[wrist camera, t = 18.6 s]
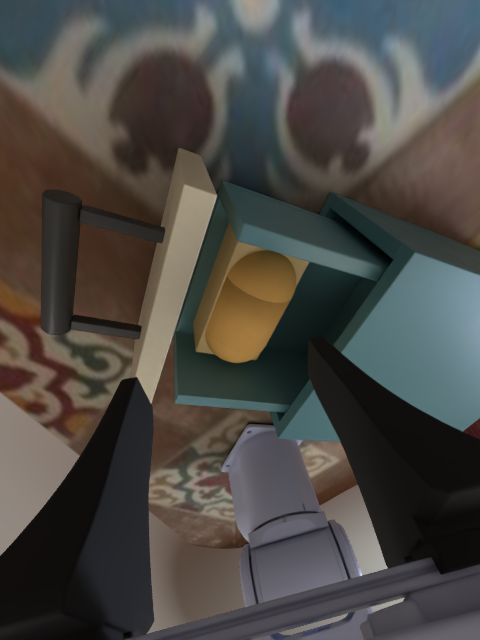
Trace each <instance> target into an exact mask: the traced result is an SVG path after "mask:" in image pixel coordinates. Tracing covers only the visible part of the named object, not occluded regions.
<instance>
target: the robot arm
mask: <svg viewBox="0 0 480 640" xmlns="http://www.w3.org/2000/svg"><path fill="white" fill-rule="evenodd" d="M308 374H309V377H310V380H311V382H312V385H313V388H314V390H315V393H316V395H317V397H318V399H319V401H320V403H321V405H322V407H323V409H324V411H325V413H326V414H327V416H328V418H329V420H330V422H331V424H332V426H333V428H334V430H335V432H336V434H337V436H338V438H339V440H340V442H341V444H342V446H343V448H344V450H345V453H346V455H347V458H348V460H349V463H350V465H351V468H352V470H353V473H354V475H355V478H356V481H357V483H358V486H359V488H360V491H361V494H362V496H363V499H364V502H365V505H366V507H367V510H368V513H369V516H370V518H371V521H372V524H373V527H374V530H375V533H376V536H377V539H378V541H379V544H380V547H381V550H382V553H383V557H384V560H385V563H386V565H387V567H388V569H385V570H381V571H378V572H374V573H370V574H367V575H363V576H362V573H361V570H360V567H359V565H358V562H357V559H356V556H355V554H354V551H353V549H352V546H351V544H350V541H349V539H348V537H347V534H346V533H345V530H344V529H343V527H342V526H341V525H340V524H338V523H336V521H335V520H330V521H327V519H326V516H325V513H324V512H323V511H322V512H321V509H320V506H319V503H318V500H317V497H316V494H315V492H314V489H313V486H312V483H311V480H310V477H309V475H308V472H307V469H306V466H305V463H304V460H303V457H302V455H301V452H300V449H299V445H300V444H301V442H302V441H303V440H291V439H278V437H277V434H276V431H275V427H274V425H261V424H249V425H247V426H246V428H245V429H244V431H243V433H242V434H241V436H240V437H239V439H238V441H237V442H236V444H235V446H234V447H233V449H232V450H231V452H230V454H229V455H228V457H227V459H226V460H225V462H224V463H223V465H222V467H221V471H222V472H229V478H230V485H231V492H232V498H233V505H234V512H235V518H236V523H237V526H238V528H239V531H240V532H241V534H242V535H243V537H244V538H245V539H246V540H247V541H248V542H249V544H247V545H244V547H243V550H242V552H241V554H240V558H239V568H240V579H241V586H242V592H243V598H244V603H245V607H244V608H241V609H237V610H234V611H230V612H226V613H222V614H219V615H215V616H211V617H208V618H204V619H200V620H196V621H193V622H189V623H186V624H182V625H178V626H174V627H171V628H167V629H163V630H160V631H156V632H152V633H149V634H146V633H147V632H148V631H149V629H150V628H151V626H152V624H153V622H154V612H153V599H152V586H151V568H150V548H149V507H148V494H149V478H150V466H151V454H152V442H153V410H152V405H151V403H150V401H149V399H148V397H147V395H146V393H145V391H144V389H143V387H142V385H141V383H140V381H139V380H138V378H137V377H133V378H129V379H124V380H122V381H121V382H120V384H119V386H118V388H117V390H116V392H115V394H114V396H113V398H112V400H111V402H110V404H109V406H108V408H107V410H106V412H105V414H104V416H103V418H102V419H101V421H100V423H99V425H98V427H97V429H96V430H95V432H94V434H93V436H92V437H91V439H90V441H89V442H88V444H87V446H86V447H85V449H84V451H83V452H82V454H81V455H80V457H79V459H78V460H77V462H76V463H75V465H74V466H73V468H72V469H71V471H70V472H69V473H68V475H67V476H66V478H65V479H64V481H63V482H62V483H61V485H60V486H59V487H58V488H57V490H56V491H55V492H54V494H53V495H52V496H51V498H50V499H49V500H48V502H47V503H46V504H45V505H44V507H43V508H42V509H41V510H40V512H39V513H38V514H37V515H36V516H35V518H34V519H33V520H32V521H31V522H30V523H29V525H28V526H27V527H26V528H25V529H24V530H23V532H22V533H21V534H20V535H19V536H18V537H17V539H16V540H15V541H14V542H13V543H12V544H11V545H10V546H9V547H8V548H7V549H6V551H5V552H4V553H3V554H2V555H1V556H0V640H253V639H254V640H480V439H478V438H476V437H473V436H471V435H469V434H467V433H465V432H462V431H460V430H458V429H456V428H454V427H452V426H450V425H448V424H446V423H444V422H442V421H440V420H438V419H436V418H434V417H433V416H431V415H429V414H427V413H425V412H423V411H421V410H420V409H418V408H416V407H415V406H413V405H411V404H410V403H408V402H406V401H405V400H403V399H401V398H400V397H398V396H397V395H395V394H394V393H392V392H391V391H389V390H388V389H386V388H385V387H384V386H382V385H381V384H379V383H378V382H377V381H375V380H374V379H373V378H371V377H370V376H369V375H367V374H366V373H365V372H364V371H362V370H361V369H360V368H359V367H357V366H356V365H355V364H354V363H352V362H351V361H350V360H349V359H348V358H347V357H345V356H344V355H343V354H342V353H341V352H340V351H339V350H338V349H336V348H335V347H334V346H333V345H332V344H331V343H330V342H329V341H328V340H327V339H326V338H324V337H323V336H321V337H316V338H312V339H308ZM404 597H405V599H404V601H403V602H401V603H398V604H395V605H392V606H389V607H387V608H384V609H381V610H379V611H376V612H373V610H372V608H371V607H372V606H376V605H379V604H383V603H386V602H390V601H393V600H397V599H400V598H404ZM347 613H348V615H347V616H346V617H345V618H344V619H342V620H340V621H338V622H335V623H331V624H327V625H324V626H321V627H317V628H314V629H310V630H307V631H303V632H300V633H297V634H293V635H282V634H280V633H278V632H282V631H286V630H289V629H293V628H296V627H300V626H304V625H307V624H311V623H314V622H318V621H322V620H325V619H329V618H332V617H336V616H340V615H343V614H347Z"/></svg>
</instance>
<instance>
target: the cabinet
mask: <svg viewBox="0 0 480 640" xmlns="http://www.w3.org/2000/svg"><path fill="white" fill-rule="evenodd" d="M319 215H321V216H324V217H327V218H330V219H332V220H335V221H338V222H341V223H344V224H346V225H349V226H352V227H354V228H355V229H357V230H358V231H359V232H360V233H361V234H363V235H364V236H365V237H366V238H368V239H369V240H370V241H371V242H372V243H374V244H375V245H376V246H377V247H378V248H380V249H381V250H382V251H383V252H385V253H386V254H387V255H388V256H389V257H391V258H392V259H393V261H392V263H391V264H390V265H389V267H388V268H387V270H386V271H385V272H384V274H383V275H382V277H381V278H380V280H379V281H378V282H377V284H376V285H375V287H374V288H373V290H372V291H371V292H370V294H369V295H368V297H367V298H366V300H365V301H364V302H363V304H362V305H361V307H360V308H359V309H358V311H357V312H356V314H355V315H354V317H353V318H352V319H351V321H350V322H349V324H348V325H347V327H346V328H345V329H344V331H343V332H342V334H341V335H340V337H339V338H338V339H337V341H336V342H335V344H334V345H333V346H334V347H335V348H336V349H338V350H339V351H340V352H341V353H342V354H343V355H344V356H345V357H347V358H348V359H349V360H350V361H351V362H352V363H354V364H355V365H356V366H357V367H359V368H360V369H361V370H362V371H364V372H365V373H366V374H367V375H369V376H370V377H371V378H373V379H374V380H375V381H377V382H378V383H379V384H381V385H382V386H384V387H385V388H386V389H388V390H389V391H391V392H392V393H394V394H395V395H397V396H398V397H400V398H401V399H403V400H405V401H406V402H408V403H410V404H411V405H413V406H415V407H416V408H418V409H420V410H421V411H423V412H425V413H427V414H429V415H431V416H433V417H434V418H436V419H438V420H440V421H442V422H444V423H446V424H448V425H450V426H452V427H454V428H456V429H458V430H460V431H462V432H463V431H464V430H465V429H467V428H468V427H469V426H470V425H472V424H473V423H474V422H475V421H477V420H478V419H479V418H480V250H478V249H475V248H473V247H470V246H468V245H465V244H463V243H460V242H458V241H455V240H452V239H450V238H447V237H445V236H442V235H440V234H437V233H435V232H432V231H430V230H427V229H425V228H422V227H420V226H417V225H415V224H412V223H410V222H407V221H405V220H402V219H400V218H397V217H394V216H392V215H389V214H387V213H384V212H382V211H379V210H377V209H374V208H372V207H369V206H367V205H364V204H362V203H359V202H357V201H354V200H352V199H349V198H347V197H344V196H342V195H339V194H337V193H334V192H330V194H329V196H328V198H327V200H326V202H325V204H324V206H323V208H322V210H321V212H320V214H319ZM270 414H271V417H272V421H273V424H274V427H275V431H276V434H277V437H278V439H291V440H313V441H334V442H340V440H339V438H338V436H337V434H336V432H335V430H334V428H333V426H332V424H331V422H330V420H329V418H328V416H327V414H326V413H325V411H324V409H323V407H322V405H321V403H320V401H319V399H318V397H317V395H316V393H315V390H314V388H313V385H312V382H311V380H310V379H309V381H308V382H307V383H306V385H305V386H304V388H303V389H302V391H301V392H300V393H299V395H298V396H297V398H296V399H295V401H294V402H293V403H292V405H291V406H290V408H289V409H288V410H287V412H286V413H285V412H273V411H270Z"/></svg>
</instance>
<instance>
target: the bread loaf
mask: <svg viewBox="0 0 480 640" xmlns="http://www.w3.org/2000/svg"><path fill="white" fill-rule="evenodd" d="M308 264H309V262H308V261H305V260H301V259H298V258H294V257H291V256H287V255H284V254H280V253H277V252H273V251H270V250H267V249H263V248H260V247H256V246H253V245H249V244H246V243H242V242H239V241H237V239H236V237H235V235H234V232H233V230H232V227H231V225H230V222H229V223H228V226H227V229H226V232H225V235H224V237H223V240H222V243H221V246H220V249H219V252H218V254H217V257H216V260H215V263H214V266H213V269H212V271H211V274H210V277H209V280H208V283H207V286H206V288H205V291H204V294H203V297H202V300H201V302H200V305H199V308H198V311H197V314H196V317H195V319H194V322H193V329H194V340H195V350H196V352H202V353H208V354H215V355H216V356H218V357H219V358H221V359H223V360H225V361H228V362H232V363H241V362H246V361H249V360H257V358H258V356H259V354H260V353H261V352H262V351H263V349H264V348H265V346H266V344H267V343H268V341H269V339H270V337H271V335H272V333H273V332H274V330H275V328H276V326H277V324H278V322H279V321H280V319H281V317H282V315H283V313H284V311H285V310H286V308H287V306H288V304H289V302H290V300H291V298H292V296H293V294H294V291H295V288H296V286H297V284H298V282H299V280H300V279H301V277H302V275H303V273H304V271H305V269H306V268H307V266H308Z"/></svg>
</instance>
